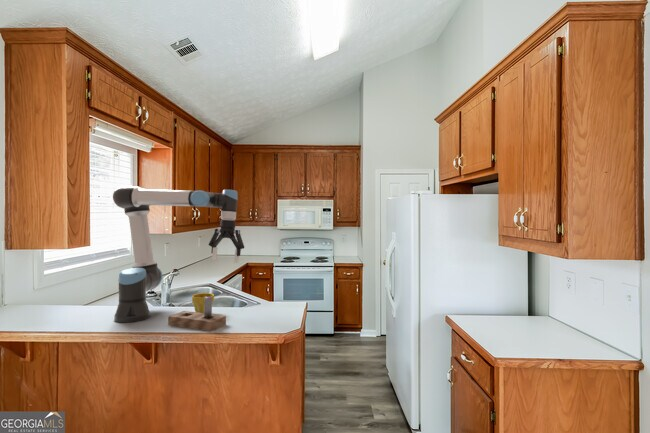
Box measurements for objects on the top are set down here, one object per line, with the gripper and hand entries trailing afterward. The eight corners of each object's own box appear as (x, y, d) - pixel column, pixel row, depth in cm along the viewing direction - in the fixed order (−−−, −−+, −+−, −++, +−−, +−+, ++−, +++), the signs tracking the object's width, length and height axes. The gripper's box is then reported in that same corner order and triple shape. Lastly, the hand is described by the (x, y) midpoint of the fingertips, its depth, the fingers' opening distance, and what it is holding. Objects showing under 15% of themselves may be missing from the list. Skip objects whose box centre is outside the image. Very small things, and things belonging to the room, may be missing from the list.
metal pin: (202, 324, 165) (202, 297, 165) (207, 322, 168) (207, 296, 168) (208, 325, 164) (208, 298, 164) (213, 323, 167) (213, 296, 167)
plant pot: (207, 318, 179) (207, 297, 179) (187, 316, 181) (187, 296, 181) (217, 312, 189) (217, 293, 189) (199, 311, 191) (199, 292, 191)
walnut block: (168, 324, 168) (168, 316, 168) (184, 319, 177) (184, 310, 177) (211, 331, 159) (211, 321, 159) (225, 324, 168) (226, 315, 168)
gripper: (253, 221, 189) (250, 263, 188) (213, 219, 198) (209, 258, 197) (245, 220, 182) (241, 263, 181) (203, 218, 191) (200, 259, 190)
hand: (225, 261), depth 189 cm, fingers open, 13 cm apart
